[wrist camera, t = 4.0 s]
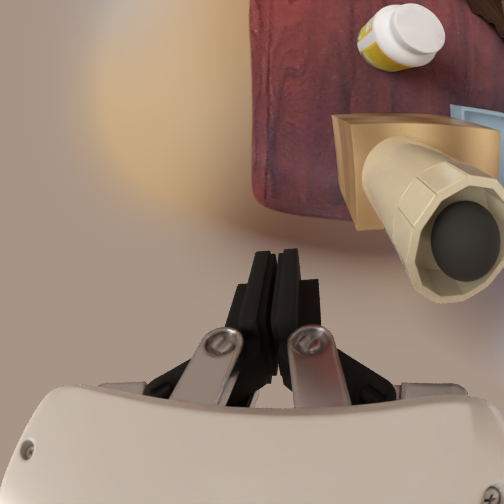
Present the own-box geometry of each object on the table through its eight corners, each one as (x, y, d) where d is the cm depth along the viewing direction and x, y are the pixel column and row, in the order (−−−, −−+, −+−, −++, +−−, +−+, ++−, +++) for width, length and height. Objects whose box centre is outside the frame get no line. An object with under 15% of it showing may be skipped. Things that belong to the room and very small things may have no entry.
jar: (345, 191, 21) (379, 271, 12) (388, 118, 18) (465, 145, 8) (408, 231, 22) (459, 318, 13) (450, 167, 18) (532, 226, 9)
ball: (405, 236, 13) (437, 280, 10) (445, 175, 11) (490, 204, 8) (447, 265, 14) (478, 308, 10) (484, 212, 12) (524, 246, 8)
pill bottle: (404, 79, 24) (452, 75, 15) (353, 64, 25) (381, 48, 15) (409, 33, 21) (454, 13, 11) (357, 17, 21) (385, -16, 12)
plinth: (339, 187, 33) (357, 231, 23) (331, 114, 29) (350, 124, 18) (444, 182, 30) (492, 221, 20) (444, 115, 25) (500, 131, 15)
